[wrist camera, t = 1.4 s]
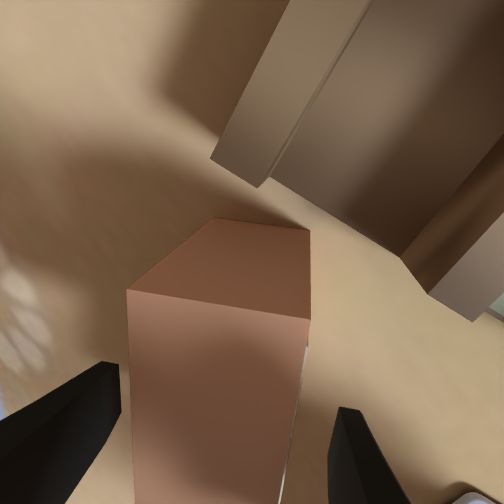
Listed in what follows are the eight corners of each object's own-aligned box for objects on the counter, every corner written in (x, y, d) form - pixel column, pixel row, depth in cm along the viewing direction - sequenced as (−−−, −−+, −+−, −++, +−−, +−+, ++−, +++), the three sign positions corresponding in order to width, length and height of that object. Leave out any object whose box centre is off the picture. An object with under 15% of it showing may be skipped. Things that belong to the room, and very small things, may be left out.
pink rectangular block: (313, 230, 13) (318, 321, 7) (282, 421, 17) (265, 604, 10) (210, 216, 14) (119, 288, 7) (200, 404, 17) (133, 567, 11)
